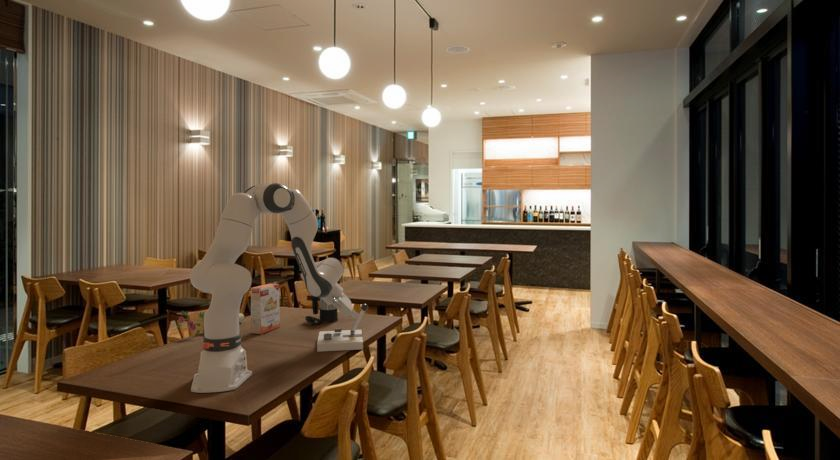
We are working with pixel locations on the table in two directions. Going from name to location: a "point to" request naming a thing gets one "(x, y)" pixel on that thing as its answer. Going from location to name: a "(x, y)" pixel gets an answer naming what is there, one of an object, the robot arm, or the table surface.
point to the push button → (327, 336)
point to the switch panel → (340, 341)
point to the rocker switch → (337, 330)
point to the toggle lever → (359, 318)
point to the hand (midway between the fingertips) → (357, 317)
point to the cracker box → (265, 308)
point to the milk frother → (322, 312)
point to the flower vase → (192, 325)
